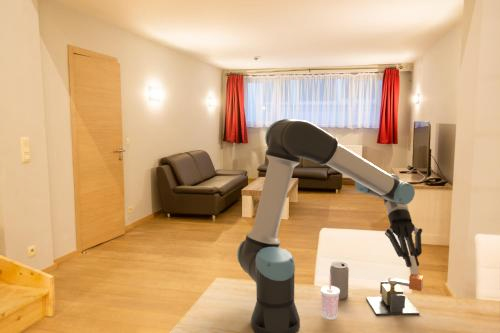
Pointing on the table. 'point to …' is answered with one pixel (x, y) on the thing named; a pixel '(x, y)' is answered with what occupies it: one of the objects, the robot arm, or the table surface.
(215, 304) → the table surface
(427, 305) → the table surface
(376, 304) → the valve body
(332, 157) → the robot arm
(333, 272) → the beverage can
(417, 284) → the valve lever
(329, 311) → the beverage cup
